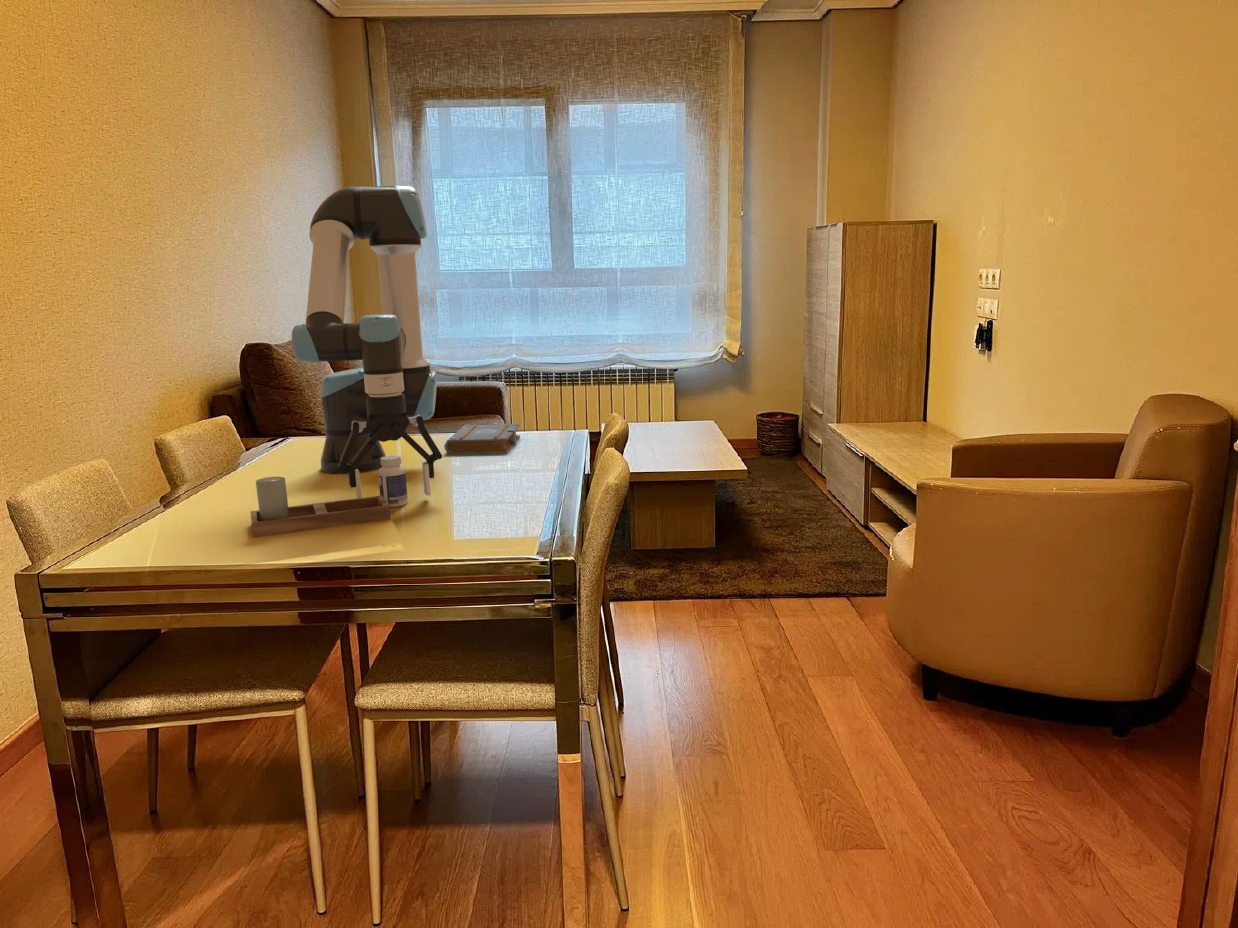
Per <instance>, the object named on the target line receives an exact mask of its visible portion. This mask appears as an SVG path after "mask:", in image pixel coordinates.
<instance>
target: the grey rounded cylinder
mask: <svg viewBox="0 0 1238 928" xmlns="http://www.w3.org/2000/svg"><path fill="white" fill-rule="evenodd" d="M255 488H256V494H257V495H256V497H257V504H258V510H259V513H260V521H265V520H273V519H281V518H289V509H288V507H289V502H288V501H289V500H288V494H287V484H286V478H285V477H283V476H268V477H263V478H259V479H256V480H255Z"/></svg>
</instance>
